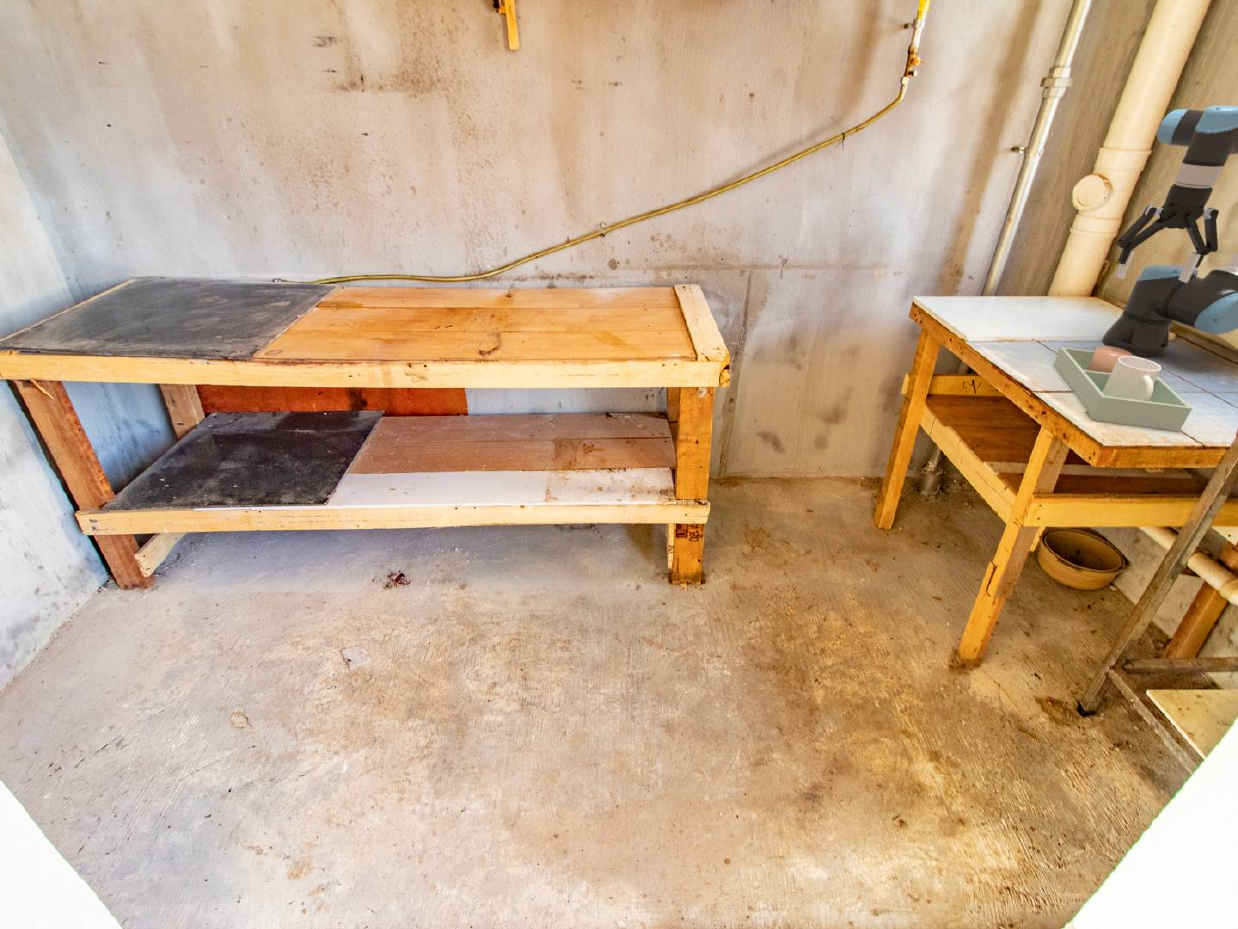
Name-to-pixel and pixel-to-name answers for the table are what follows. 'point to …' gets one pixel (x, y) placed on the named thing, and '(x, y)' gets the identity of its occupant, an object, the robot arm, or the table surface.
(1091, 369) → the peach rounded cylinder
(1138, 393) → the mug
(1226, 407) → the table surface
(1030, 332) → the table surface
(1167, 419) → the caddy
